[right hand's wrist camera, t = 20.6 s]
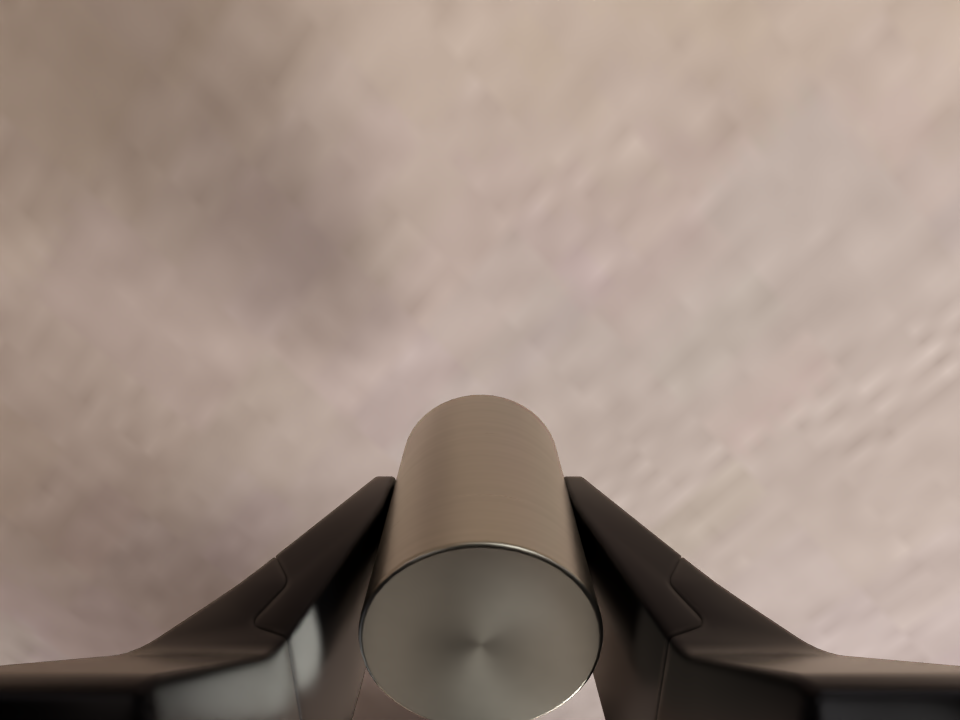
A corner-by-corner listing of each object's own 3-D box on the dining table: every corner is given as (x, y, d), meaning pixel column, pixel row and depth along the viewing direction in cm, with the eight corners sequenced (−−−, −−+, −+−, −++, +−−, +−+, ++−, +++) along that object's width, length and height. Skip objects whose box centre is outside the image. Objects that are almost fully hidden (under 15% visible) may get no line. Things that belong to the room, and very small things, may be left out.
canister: (402, 391, 12) (350, 540, 7) (563, 395, 12) (618, 546, 7) (405, 525, 13) (362, 728, 8) (551, 529, 13) (591, 732, 8)
